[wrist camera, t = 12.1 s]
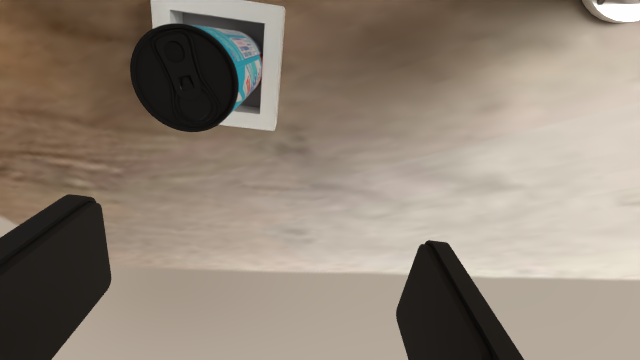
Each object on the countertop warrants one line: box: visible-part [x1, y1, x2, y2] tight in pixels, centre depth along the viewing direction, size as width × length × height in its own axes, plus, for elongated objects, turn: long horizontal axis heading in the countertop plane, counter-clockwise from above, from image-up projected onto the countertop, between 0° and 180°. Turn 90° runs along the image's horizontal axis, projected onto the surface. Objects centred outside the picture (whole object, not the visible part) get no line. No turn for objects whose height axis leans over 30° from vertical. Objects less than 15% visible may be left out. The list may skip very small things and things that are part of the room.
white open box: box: [151, 0, 286, 131], centre depth 22 cm, size 11×18×18 cm, turn 173°
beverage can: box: [130, 23, 263, 132], centre depth 25 cm, size 6×6×15 cm
